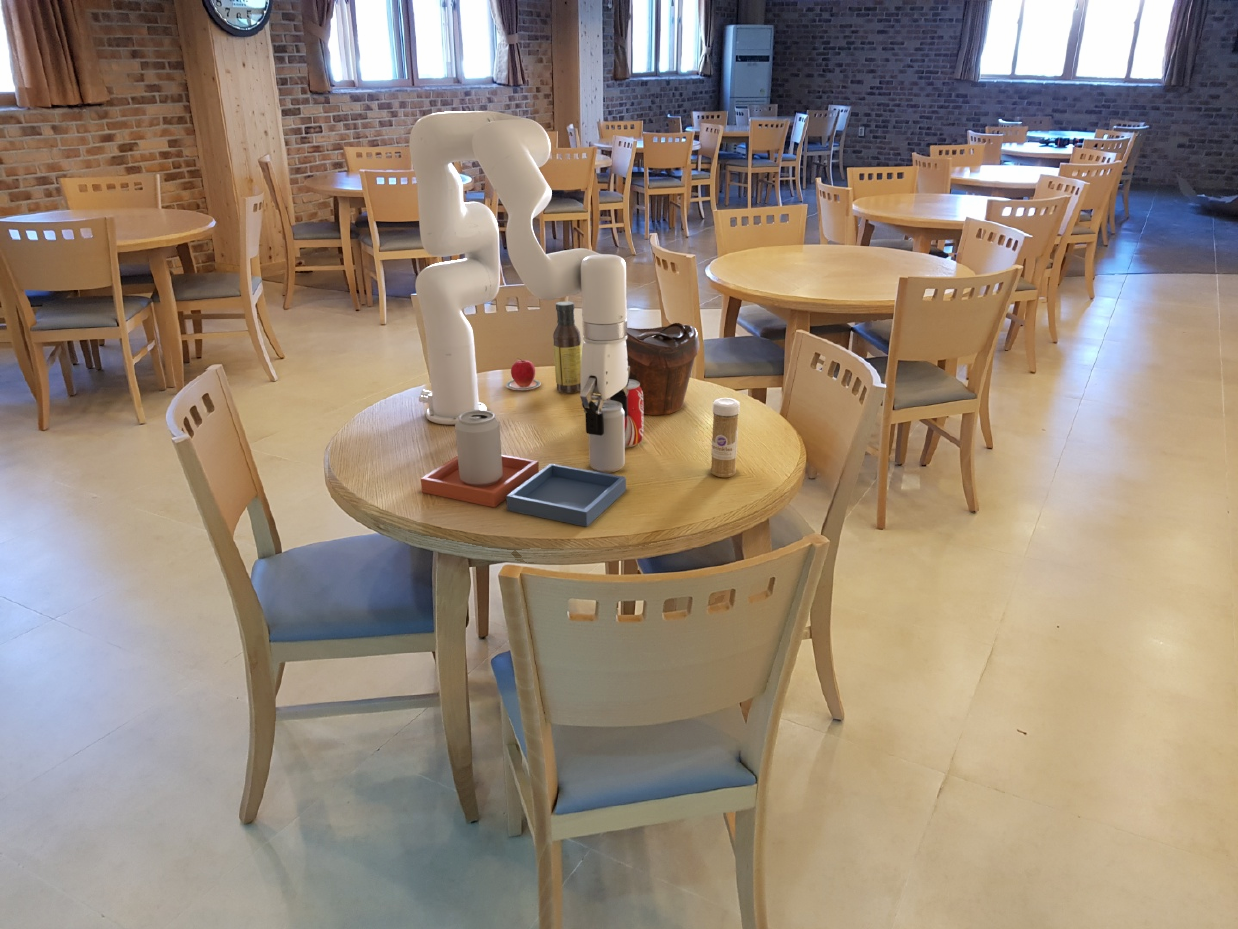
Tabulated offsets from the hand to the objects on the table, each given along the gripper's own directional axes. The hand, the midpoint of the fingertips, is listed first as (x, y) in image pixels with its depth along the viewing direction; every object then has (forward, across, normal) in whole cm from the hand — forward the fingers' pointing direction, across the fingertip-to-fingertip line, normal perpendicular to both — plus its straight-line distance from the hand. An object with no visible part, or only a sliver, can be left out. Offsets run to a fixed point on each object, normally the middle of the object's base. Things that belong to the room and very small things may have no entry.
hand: (607, 424), depth 155 cm
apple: (+8, -34, -38) cm, 52 cm away
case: (+8, -34, -5) cm, 35 cm away
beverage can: (+8, 0, 0) cm, 8 cm away
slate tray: (+8, +15, 0) cm, 17 cm away
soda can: (+8, -12, -2) cm, 15 cm away
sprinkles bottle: (+9, -6, +20) cm, 22 cm away
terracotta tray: (+8, +15, -17) cm, 24 cm away
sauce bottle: (+8, -36, -27) cm, 46 cm away
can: (+8, +15, -17) cm, 24 cm away
